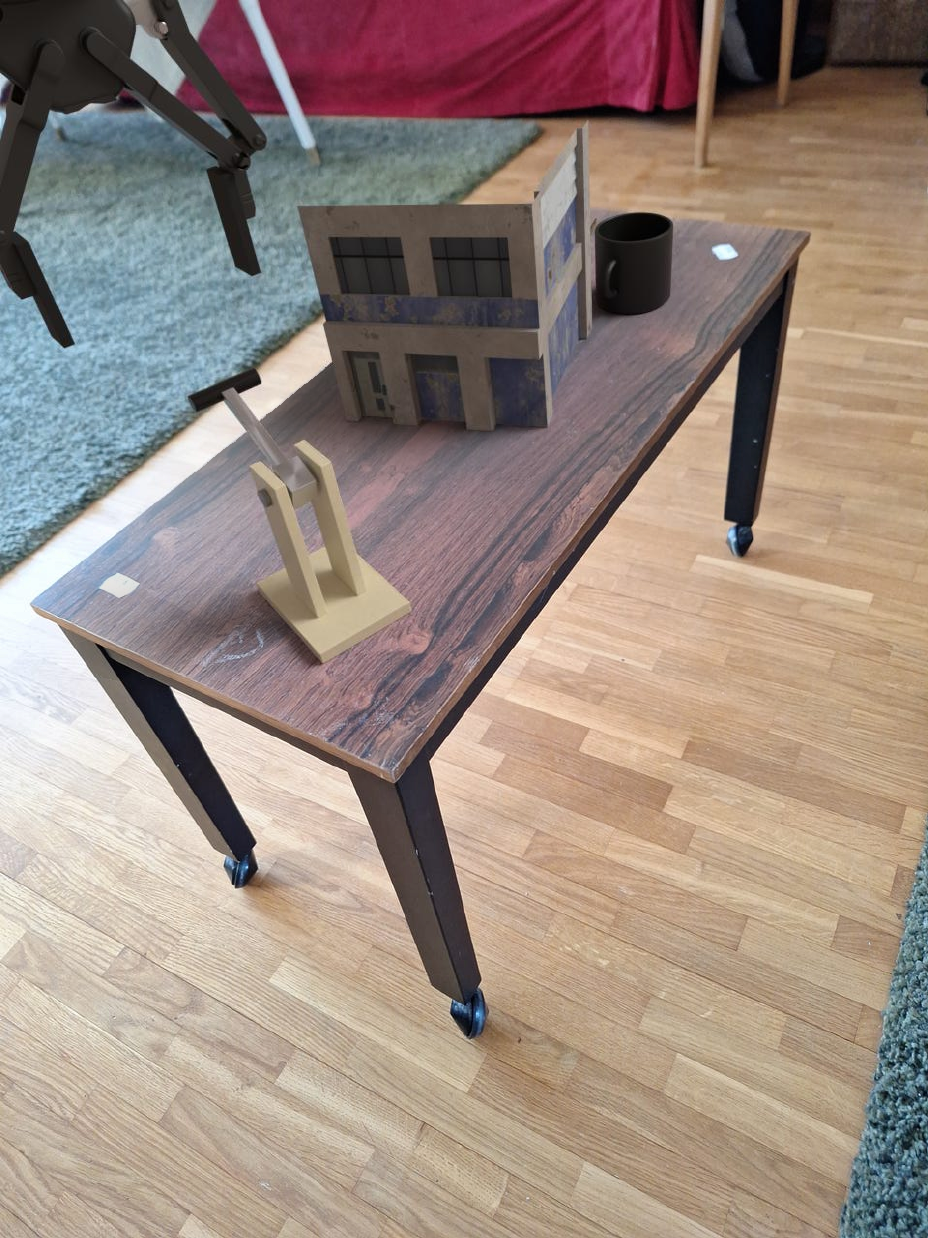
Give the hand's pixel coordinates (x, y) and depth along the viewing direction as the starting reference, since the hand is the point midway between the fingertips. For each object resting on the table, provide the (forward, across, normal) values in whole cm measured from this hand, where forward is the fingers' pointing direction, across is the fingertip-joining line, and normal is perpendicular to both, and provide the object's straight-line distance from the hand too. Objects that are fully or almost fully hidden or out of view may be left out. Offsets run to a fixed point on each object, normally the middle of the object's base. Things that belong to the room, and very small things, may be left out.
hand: (159, 303), depth 58 cm
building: (+28, +38, +18) cm, 50 cm away
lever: (+14, +4, +1) cm, 14 cm away
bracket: (+28, +4, -4) cm, 28 cm away
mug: (+27, +62, +16) cm, 69 cm away
